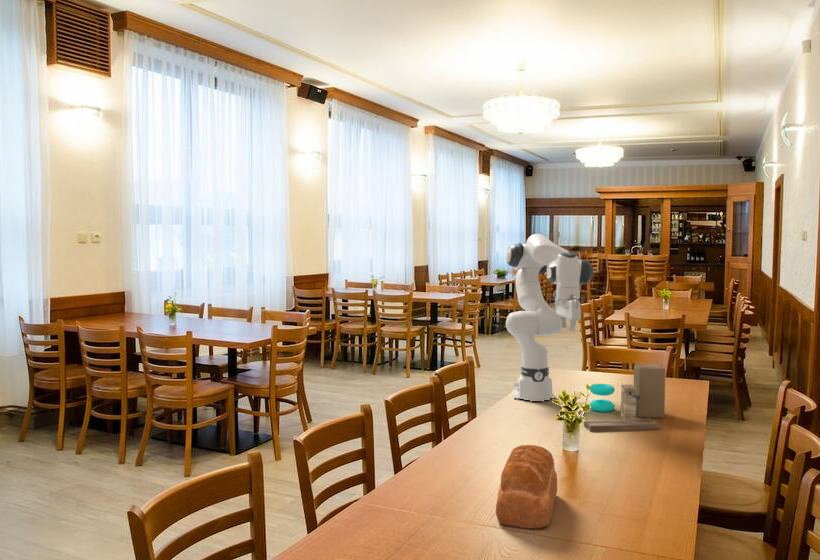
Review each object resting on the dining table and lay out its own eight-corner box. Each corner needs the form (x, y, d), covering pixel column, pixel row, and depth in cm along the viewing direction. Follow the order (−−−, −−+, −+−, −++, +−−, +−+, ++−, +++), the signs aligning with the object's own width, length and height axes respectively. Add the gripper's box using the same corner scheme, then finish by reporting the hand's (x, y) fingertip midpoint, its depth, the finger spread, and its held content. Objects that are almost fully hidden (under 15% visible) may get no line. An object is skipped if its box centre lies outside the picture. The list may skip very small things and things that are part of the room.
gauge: (620, 420, 261) (621, 384, 260) (630, 419, 261) (631, 384, 260) (632, 428, 250) (633, 391, 249) (643, 427, 250) (643, 390, 249)
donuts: (591, 388, 272) (587, 382, 282) (591, 412, 273) (587, 406, 283) (617, 388, 272) (612, 383, 281) (616, 412, 272) (611, 406, 282)
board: (583, 426, 253) (583, 420, 253) (650, 423, 256) (650, 418, 256) (590, 431, 246) (590, 425, 246) (658, 428, 249) (658, 423, 249)
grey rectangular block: (658, 412, 273) (658, 363, 271) (665, 418, 263) (665, 368, 261) (632, 411, 274) (633, 363, 272) (638, 418, 264) (639, 367, 262)
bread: (493, 526, 167) (493, 465, 166) (509, 488, 192) (509, 435, 191) (550, 533, 163) (550, 470, 162) (558, 493, 188) (559, 438, 187)
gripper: (585, 296, 253) (585, 332, 254) (567, 291, 273) (567, 325, 274) (568, 296, 252) (568, 333, 253) (552, 292, 273) (552, 326, 273)
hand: (567, 329), depth 264 cm, fingers open, 8 cm apart
